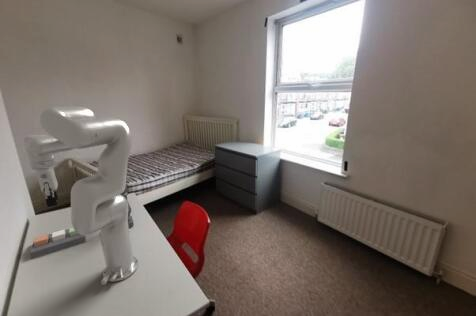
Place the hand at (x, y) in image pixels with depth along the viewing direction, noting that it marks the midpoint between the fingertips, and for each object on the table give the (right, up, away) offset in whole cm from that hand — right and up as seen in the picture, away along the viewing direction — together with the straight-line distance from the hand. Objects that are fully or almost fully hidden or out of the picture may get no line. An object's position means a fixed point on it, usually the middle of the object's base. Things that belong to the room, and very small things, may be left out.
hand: (53, 202), depth 95 cm
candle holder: (+23, -17, +20) cm, 35 cm away
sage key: (+3, -18, +10) cm, 20 cm away
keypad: (-2, -20, +7) cm, 22 cm away
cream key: (-2, -19, +6) cm, 20 cm away
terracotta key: (-7, -20, +3) cm, 21 cm away
